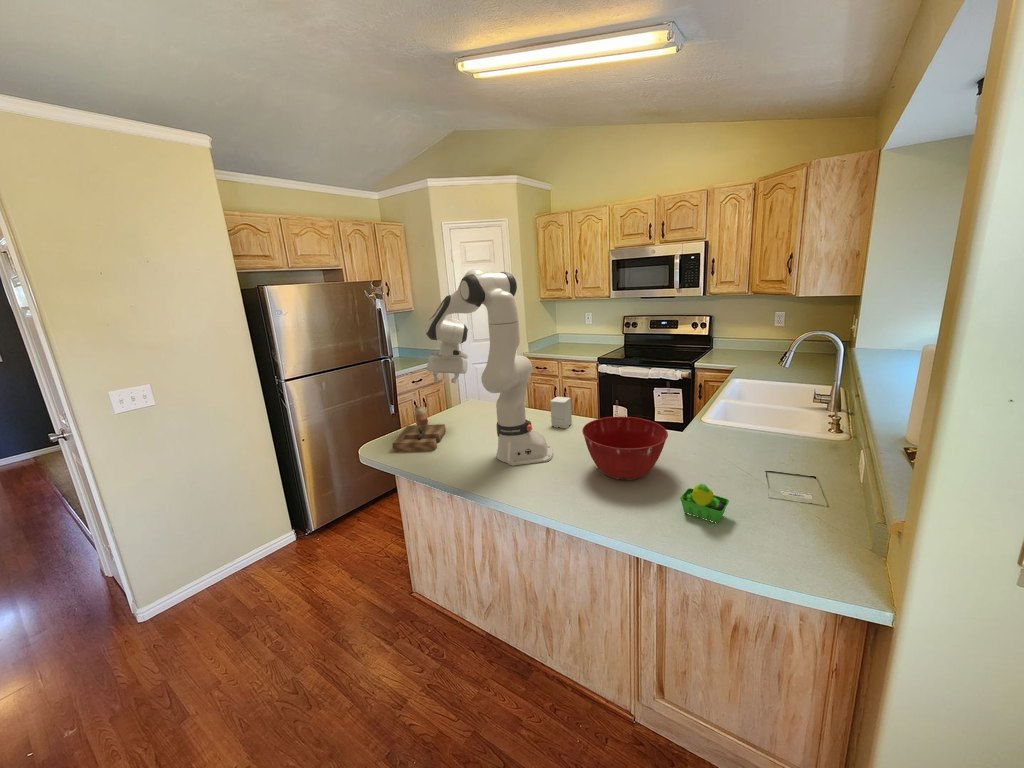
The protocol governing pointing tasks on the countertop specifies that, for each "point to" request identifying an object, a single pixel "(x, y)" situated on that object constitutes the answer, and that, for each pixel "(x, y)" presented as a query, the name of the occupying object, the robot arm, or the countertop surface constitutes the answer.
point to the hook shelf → (419, 444)
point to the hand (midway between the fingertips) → (444, 382)
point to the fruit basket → (703, 503)
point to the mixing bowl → (624, 445)
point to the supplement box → (561, 412)
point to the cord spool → (421, 418)
